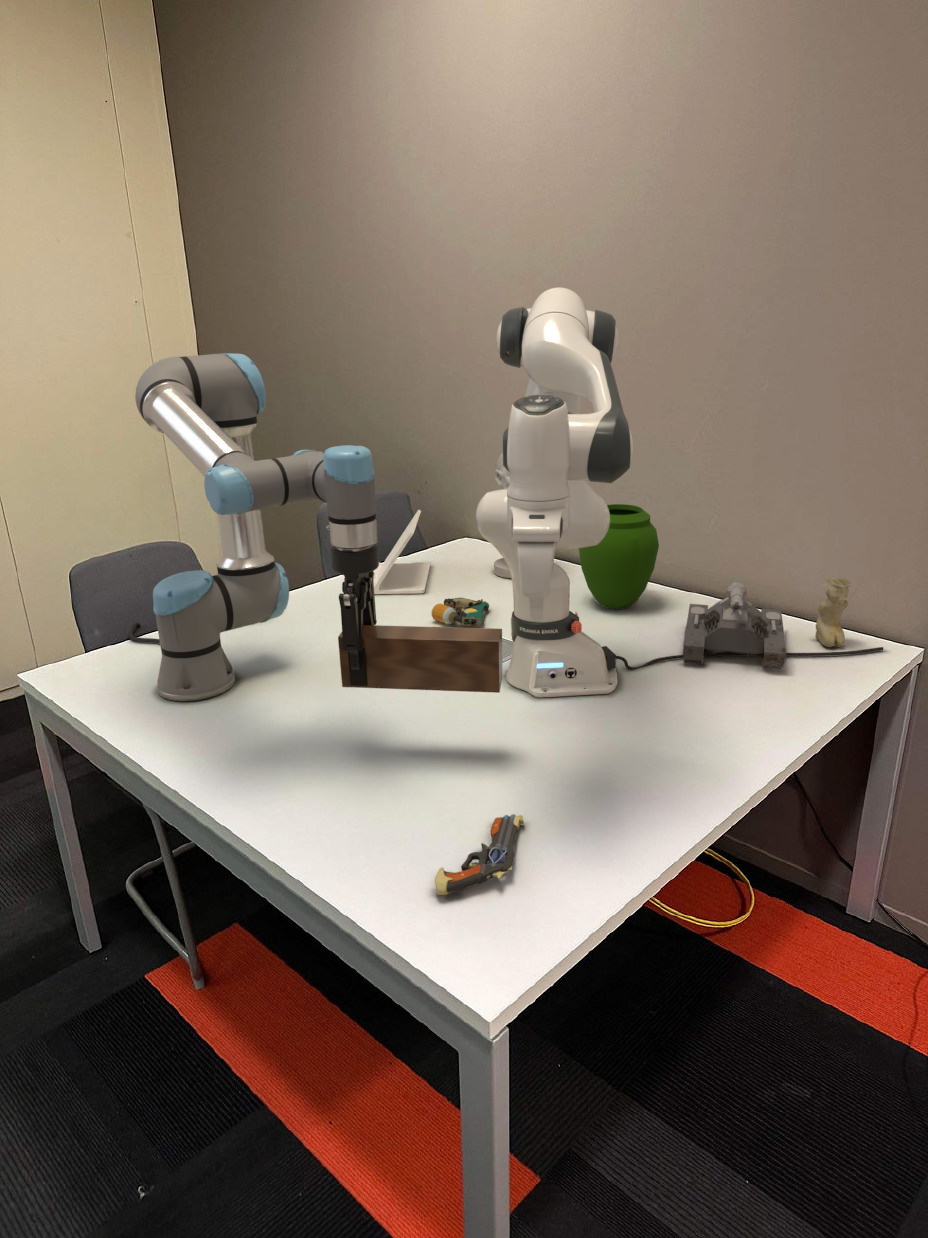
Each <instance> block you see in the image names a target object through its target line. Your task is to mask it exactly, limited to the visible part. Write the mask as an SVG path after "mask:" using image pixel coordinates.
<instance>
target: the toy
mask: <svg viewBox="0 0 928 1238" xmlns="http://www.w3.org/2000/svg"><path fill="white" fill-rule="evenodd" d="M747 593H748V590H747V587H746V584H744V583H742V582H740V581H739V582H737V581H736V582H732V583H731V584H730V585H729V586H727V588H726V595H727V597H725V598H723V599H720V600H719V601H718V602H716V603H715V604H713V605H712V606H710V607H709V605H708V604H700V603H699V604H698V603H689V607H688V612H687V613H688V614H687V619H686V624H685V625H686V626H685V632H684V638H683V646H682V647H683V648H682V655H683V658H682V659H683V662H684V663H690V664H702V665H703V662H704V656H703V655H704V653H705V650H706V651H708V652H709V651H710V652H715V653H720V652H728V653H740V654H752V655H751V656H754V655H756V654H761V655H762V656H761V667H762V668H764V669H773V670H782V669H783V668H784V666H785V663H786V662H785V661H786V657H787V656H786V653H787V645H786V638H785V637H786V636H785V630H784V622H783V613H782V610H780V609H770V608H761V610H759V609H758V608H757V607H756V606H755V605H754V604H753V603H752V602H751V601H749V600H748V599H746V596H747Z"/></svg>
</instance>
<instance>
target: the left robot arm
mask: <svg viewBox="0 0 928 1238" xmlns="http://www.w3.org/2000/svg"><path fill="white" fill-rule="evenodd" d="M134 395H135V397H134V399H135V405H136V408H137V411H138V413H139V415H140V416H141V418H142V420H144V421H145V423H146V424H147V425H148V426H149V427H150V428H151V429H153V430H154V431H155V432H158V433H161V434H164V435H165V436H166V437H167V438H168V439H169V440H170V441H171V443H173V444H174V446H175V447H176V448H177V449H178V450H179V451H180V452H181V453H182V454H183V455H184V456H185V457H186V458H187V460H188V461H189V462H190V463H191V464H192V465H193V466H194V467H195V468H196V469H197V470H198V471H199V472H200V473H201V475H203V477H204V479H203V484H204V485H203V487H204V492H205V497H206V500H207V501H208V502H209V507H210V509H212V511H213V512H215V513H216V515H217V523H218V529H219V537H220V543H221V550H222V556H220V558H219V559H218V561H217V562H216V570H217V574H214V575H212V574H211V573H210V571H208V570H204V569H195V570H186V571H181V572H177V573H175V574H172V575H170V576H169V575H168V576H167V577H165V578H163V579H162V580H160V581H159V582H158V583H157V584H156V585H155V586H154V588H153V590H152V601H153V602H152V605H153V608H152V609H153V613H154V615H155V621H156V627H157V628H156V629H157V633H158V638H153V637H152V638H151V637H138V636H135V635H133V634H134V631H135V629H136V628H141V626H142V625H141V623H140V622H134V623H133V624H132V625H131V626H130V627H129V630H128V635H127V636H128V638H129V639H130V640H131V641H134V642H137V643H152V644H153V643H154V644H160V646H159V647H160V650H161V660H160V664H159V665H160V666H159V671H158V676H157V692H158V694H159V695H160V697H162V698H164V699H165V700H169V701H174V702H195V701H202V700H206V699H210V698H214V697H216V696H219V695H222V694H223V693H225V692H228V691H229V690H230V689H231V688H232V687H233V686H234V685H235V684H236V676H235V670H234V668H233V666H232V663H231V661H230V660H229V659H228V657H227V655H226V653H225V651H224V649H223V647H222V640H221V634H222V633H223V632H228V631H229V632H230V631H233V630H236V629H240V628H243V627H247V626H251V625H255V624H256V625H257V624H262V623H267V622H268V621H270V620H274V619H276V618H279V617H281V616H282V615H283V614H284V613H285V611H286V609H287V608H288V604H289V600H290V585H289V579H288V577H287V573H286V571H285V569H284V567H283V566H282V565H281V564H280V563H278V562H276V560H275V557H274V555H272V554H271V553H270V552H268V551H267V549H266V543H265V534H264V533H265V532H264V526H263V518H262V517H263V516H262V510H264V509H270V508H276V507H283V506H287V505H293V504H299V503H304V502H311V501H320V502H324V503H326V506H327V518H328V519H327V520H328V524H326V526H325V528H326V530H327V531H329V539H330V541H329V542H330V544H331V545H332V547H331V549H330V556H331V557H330V558H331V568H332V569H333V571H334V572H336V573H338V574H341V575H343V577H344V579H343V581H342V583H341V592H342V593H339V595H338V601H339V608H340V619H341V632H342V637H343V647H342V650H343V651H345V652H348V661H349V674H350V686H367V672H366V658H365V648H363V625H377V624H378V623H377V622H378V620H377V611H376V597H375V595H376V594H374V570H375V569H377V568H378V566H379V562H380V556H379V555H380V554H379V546H378V545H377V543H378V541H379V537H378V523H377V510H376V509H377V506H376V487H375V476H376V475H375V474H376V473H375V469H374V464H373V455H372V452H371V450H370V449H369V448H368V447H366V446H363V445H353V444H346V445H336V446H331V447H329V448H327V449H325V450H324V452H323V451H320V450H317V449H301V450H298V451H295V452H294V453H293V454H291V455H289V456H282V457H281V456H280V457H274V458H273V457H272V458H268V459H259V460H255V455H254V447H253V441H252V439H253V438H252V433H253V431H254V430H255V428H256V427H257V425H258V418H257V417H258V416H257V415H259V414H261V413H263V412H264V410H265V408H266V403H267V393H266V387H265V383H264V380H263V378H262V374H261V372H260V370H259V369H258V367H257V366H256V364H255V363H254V361H253V360H252V359H251V358H250V357H249V356H247V355H245V354H244V353H243V354H242V353H233V352H231V353H229V352H228V353H226V352H221V353H211V354H199V355H198V354H197V355H185V356H168V357H165V358H162V359H159V360H157V361H155V362H153V363H152V364H151V365H150V366H148V368H146V369H145V370H144V371H143V373H141V375H140V377H139V379H138V381H137V384H136V387H135V393H134Z"/></svg>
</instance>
